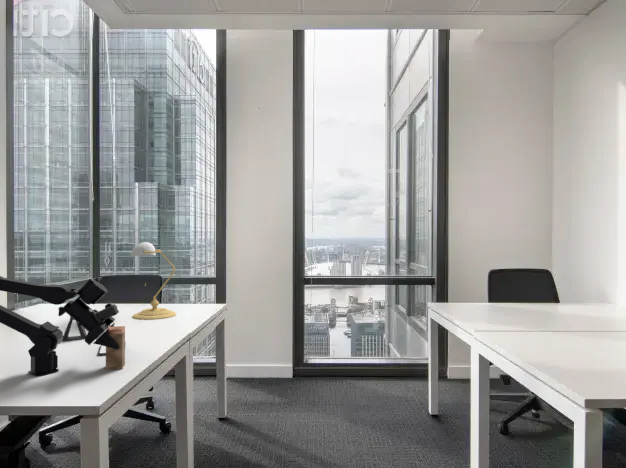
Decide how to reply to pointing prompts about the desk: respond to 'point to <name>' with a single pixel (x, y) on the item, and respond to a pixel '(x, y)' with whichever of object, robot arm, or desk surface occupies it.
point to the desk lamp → (153, 312)
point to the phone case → (102, 351)
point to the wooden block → (114, 356)
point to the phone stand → (82, 336)
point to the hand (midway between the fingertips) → (120, 346)
